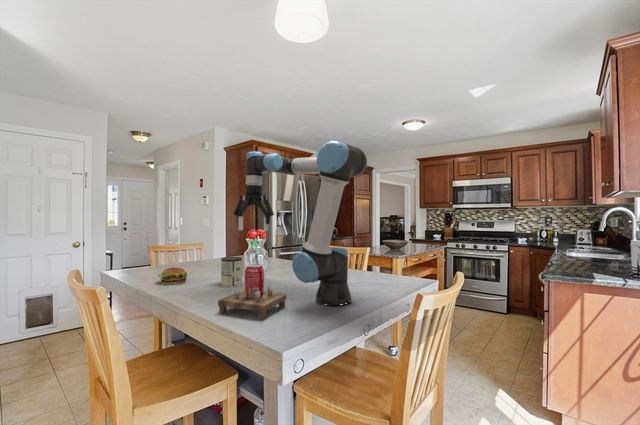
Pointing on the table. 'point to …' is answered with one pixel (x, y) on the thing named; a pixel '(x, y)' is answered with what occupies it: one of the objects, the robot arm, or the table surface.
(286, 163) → the robot arm
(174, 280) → the food
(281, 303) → the peg shelf
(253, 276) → the soda can
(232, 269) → the coffee can
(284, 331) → the table surface
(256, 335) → the table surface
